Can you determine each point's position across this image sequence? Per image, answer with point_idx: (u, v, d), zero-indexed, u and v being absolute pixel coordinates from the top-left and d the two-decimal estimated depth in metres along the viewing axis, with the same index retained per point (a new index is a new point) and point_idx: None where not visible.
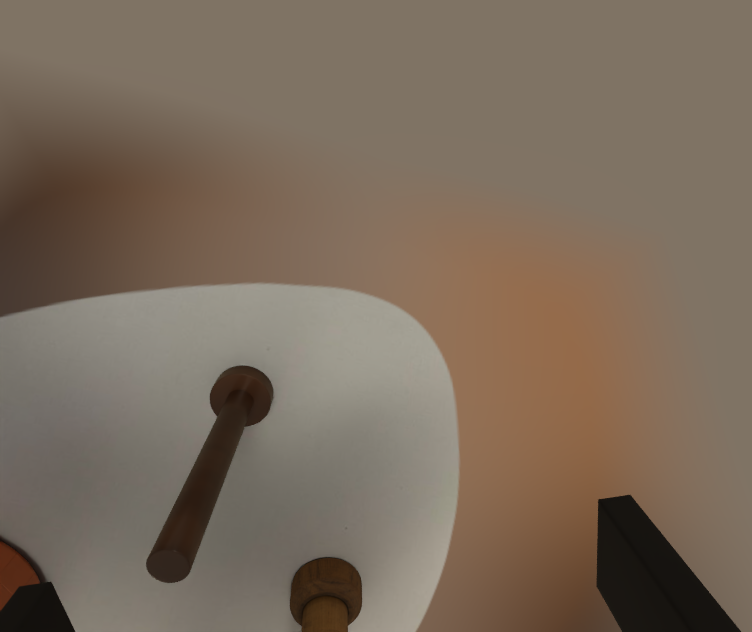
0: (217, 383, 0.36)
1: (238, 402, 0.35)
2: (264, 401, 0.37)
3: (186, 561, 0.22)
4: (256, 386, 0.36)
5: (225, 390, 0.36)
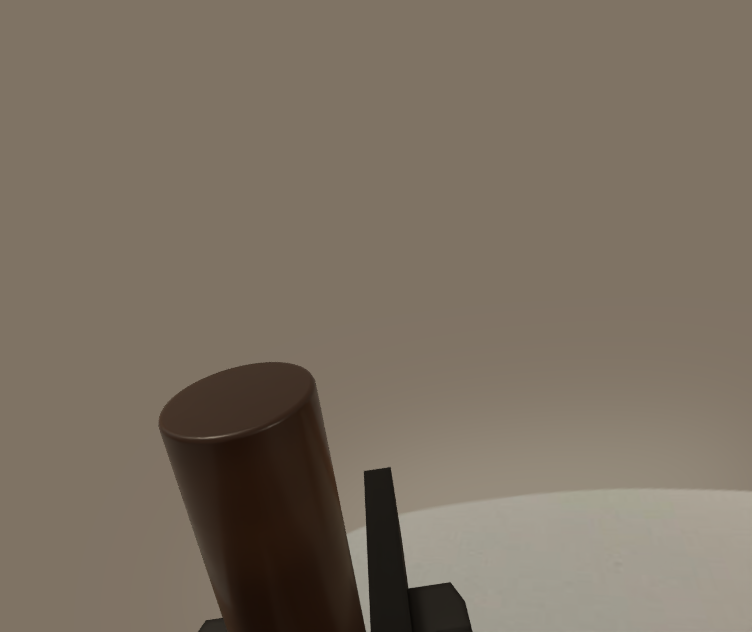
0: None
1: None
2: None
3: None
4: None
5: None
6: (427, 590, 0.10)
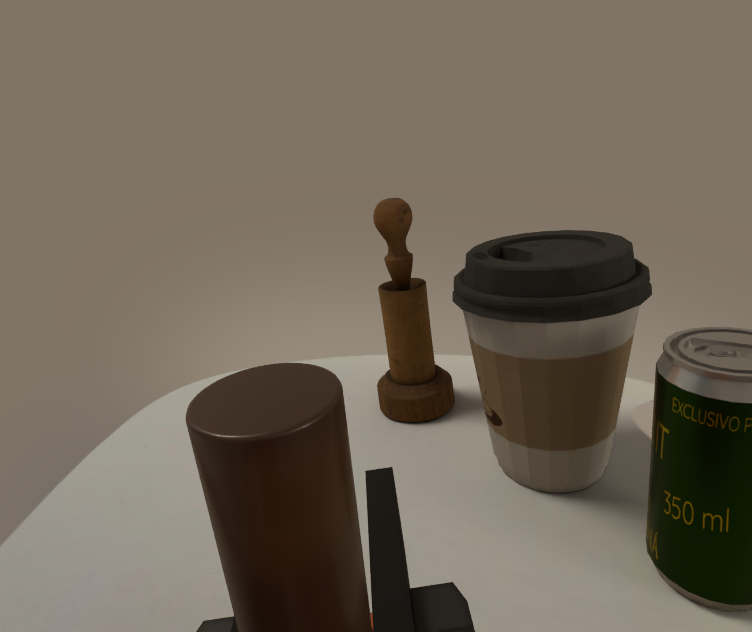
0: None
1: None
2: None
3: None
4: None
5: None
6: (430, 590, 0.10)
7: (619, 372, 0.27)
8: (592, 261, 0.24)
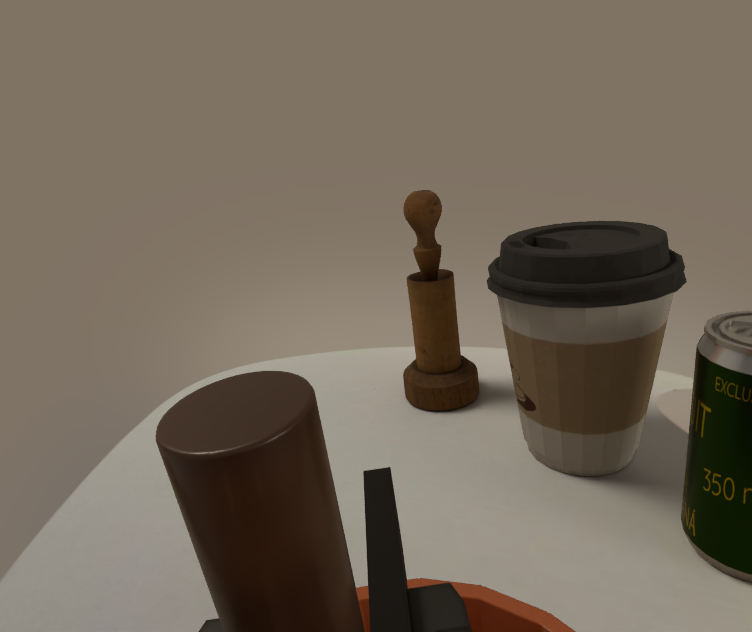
0: None
1: None
2: None
3: (248, 379, 0.07)
4: None
5: None
6: (427, 590, 0.10)
7: (653, 357, 0.28)
8: (631, 249, 0.25)
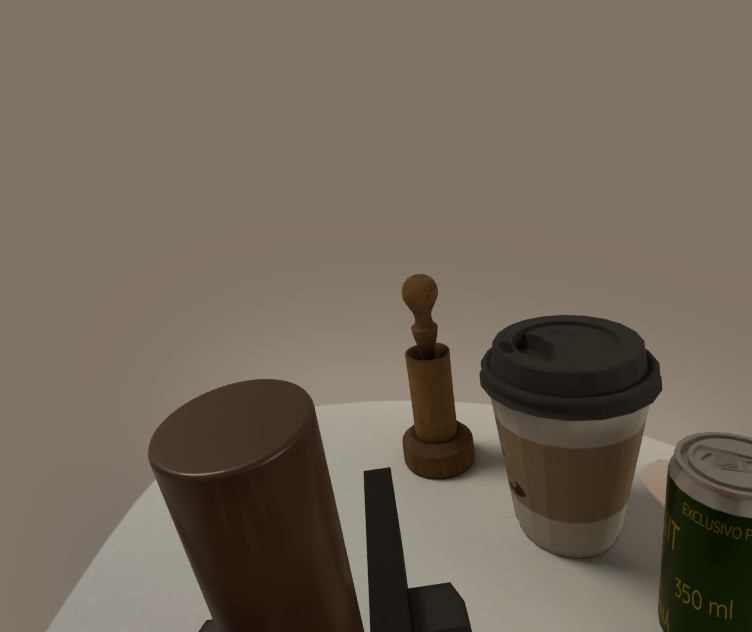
0: None
1: None
2: None
3: (247, 387, 0.07)
4: None
5: None
6: (427, 590, 0.10)
7: (632, 456, 0.30)
8: (610, 366, 0.27)
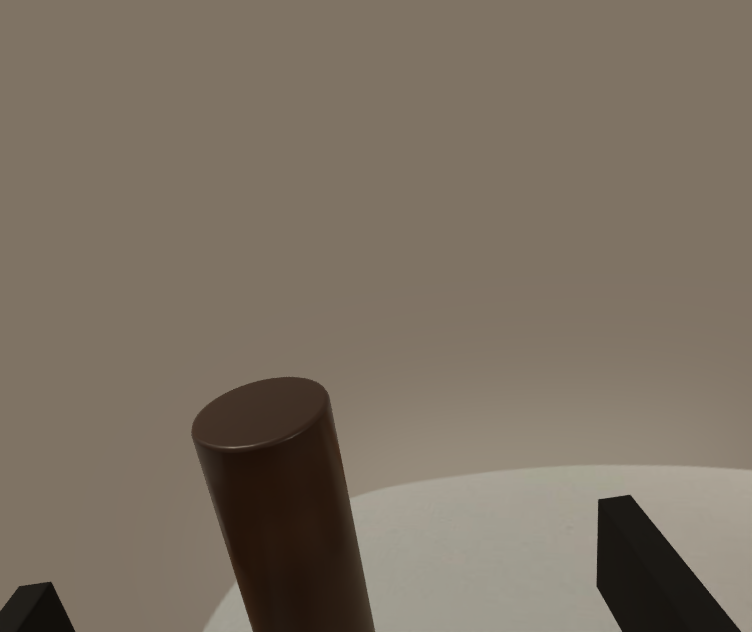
0: None
1: None
2: None
3: None
4: None
5: None
6: None
7: None
8: None
